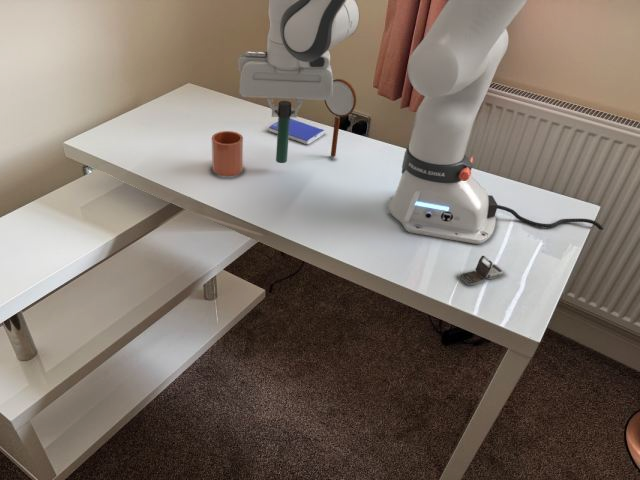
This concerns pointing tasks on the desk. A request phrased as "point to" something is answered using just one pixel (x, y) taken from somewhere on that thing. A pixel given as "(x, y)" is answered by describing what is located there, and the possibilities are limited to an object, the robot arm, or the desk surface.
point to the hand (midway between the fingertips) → (284, 116)
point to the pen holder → (227, 153)
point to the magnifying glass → (340, 106)
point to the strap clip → (482, 272)
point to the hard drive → (300, 131)
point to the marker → (283, 131)
